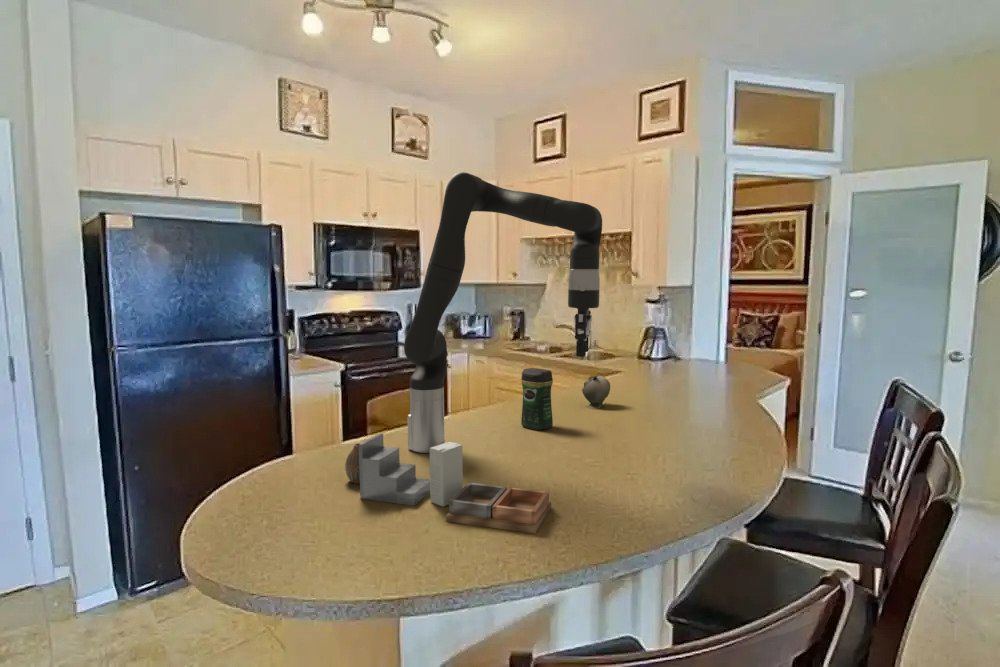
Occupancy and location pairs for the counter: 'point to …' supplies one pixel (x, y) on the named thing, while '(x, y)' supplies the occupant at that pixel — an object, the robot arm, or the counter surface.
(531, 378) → the coffee jar
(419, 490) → the gray stair step block
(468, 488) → the divided tray
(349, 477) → the vase
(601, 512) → the counter surface
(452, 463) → the skincare box
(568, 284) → the robot arm
